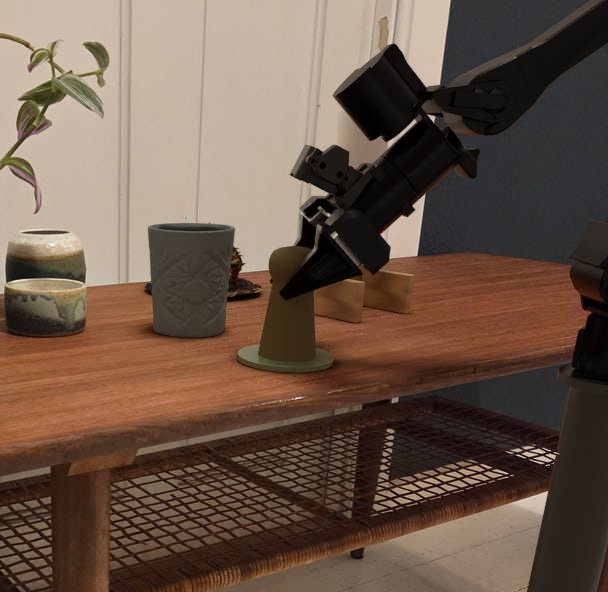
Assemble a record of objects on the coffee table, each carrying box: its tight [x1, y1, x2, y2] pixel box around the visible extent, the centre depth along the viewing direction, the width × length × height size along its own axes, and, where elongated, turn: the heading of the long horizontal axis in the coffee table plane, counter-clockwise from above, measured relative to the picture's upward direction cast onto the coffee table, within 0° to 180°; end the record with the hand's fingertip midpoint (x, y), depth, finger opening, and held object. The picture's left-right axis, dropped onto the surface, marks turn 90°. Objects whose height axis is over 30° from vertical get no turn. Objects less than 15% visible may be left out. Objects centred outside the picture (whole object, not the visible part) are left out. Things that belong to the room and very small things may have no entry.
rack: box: [314, 263, 416, 324], centre depth 115 cm, size 9×11×10 cm
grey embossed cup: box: [147, 222, 236, 338], centre depth 104 cm, size 10×10×12 cm
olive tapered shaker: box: [258, 245, 317, 362], centre depth 90 cm, size 6×6×11 cm
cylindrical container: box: [335, 109, 389, 169], centre depth 128 cm, size 7×7×25 cm
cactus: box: [144, 221, 263, 298], centre depth 128 cm, size 17×16×10 cm
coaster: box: [236, 343, 335, 374], centre depth 93 cm, size 10×10×1 cm
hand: (276, 290), depth 90 cm, fingers open, 7 cm apart
